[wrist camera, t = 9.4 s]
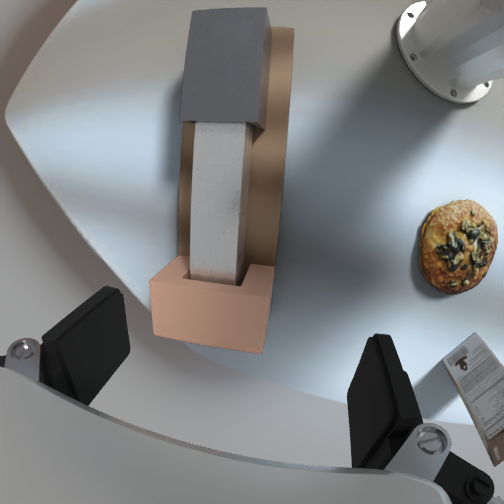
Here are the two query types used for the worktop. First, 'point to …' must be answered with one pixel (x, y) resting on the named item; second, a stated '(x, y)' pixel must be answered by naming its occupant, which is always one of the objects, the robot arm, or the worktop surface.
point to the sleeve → (227, 67)
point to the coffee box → (480, 391)
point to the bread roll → (457, 246)
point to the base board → (254, 164)
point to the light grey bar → (219, 201)
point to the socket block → (212, 307)
